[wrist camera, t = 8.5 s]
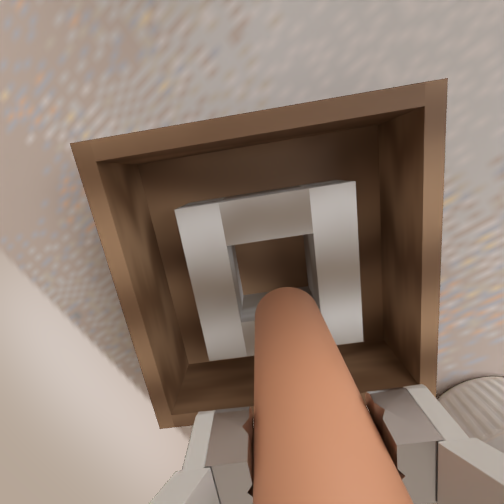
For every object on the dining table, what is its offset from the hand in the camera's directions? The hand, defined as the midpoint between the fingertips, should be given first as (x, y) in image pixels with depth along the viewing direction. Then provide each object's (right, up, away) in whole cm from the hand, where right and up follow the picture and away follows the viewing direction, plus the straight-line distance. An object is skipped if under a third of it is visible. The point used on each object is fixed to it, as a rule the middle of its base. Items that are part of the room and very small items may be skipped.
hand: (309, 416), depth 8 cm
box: (0, +4, +13) cm, 14 cm away
